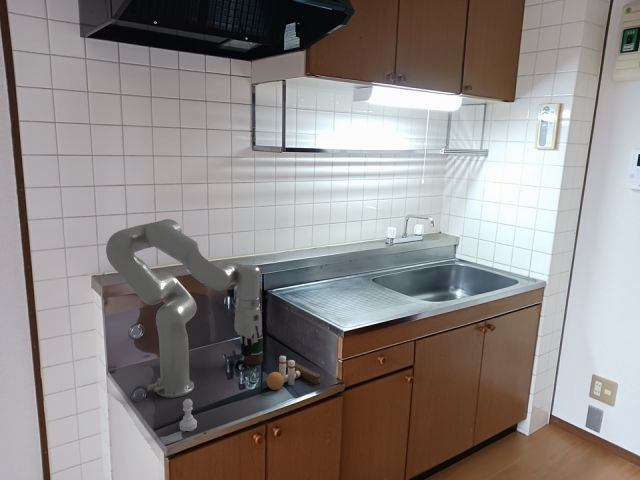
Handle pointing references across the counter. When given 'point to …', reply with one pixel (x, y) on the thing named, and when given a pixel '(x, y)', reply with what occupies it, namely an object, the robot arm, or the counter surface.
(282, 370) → the pin
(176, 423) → the counter surface
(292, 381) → the pin
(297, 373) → the front pin
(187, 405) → the chess pawn
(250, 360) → the beer bottle
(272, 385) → the ball
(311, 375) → the back rail
